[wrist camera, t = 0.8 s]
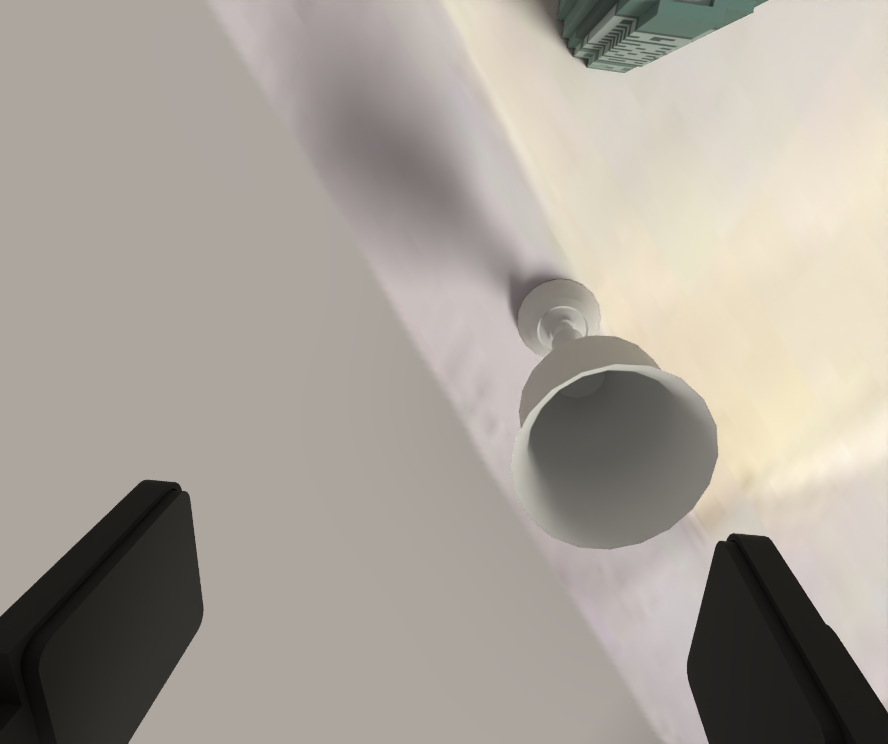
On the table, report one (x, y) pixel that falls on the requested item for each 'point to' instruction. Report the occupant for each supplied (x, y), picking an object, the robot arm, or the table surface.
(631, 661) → the table surface
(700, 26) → the can
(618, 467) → the chalice
